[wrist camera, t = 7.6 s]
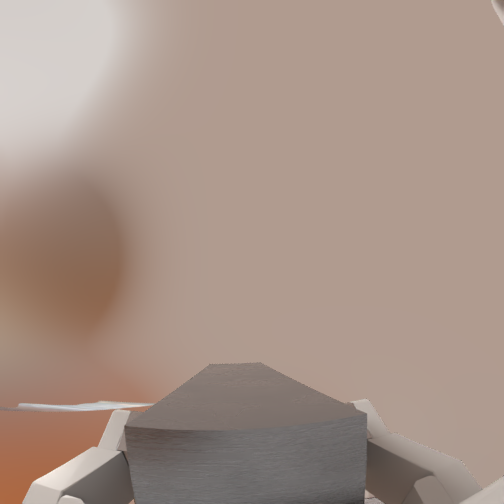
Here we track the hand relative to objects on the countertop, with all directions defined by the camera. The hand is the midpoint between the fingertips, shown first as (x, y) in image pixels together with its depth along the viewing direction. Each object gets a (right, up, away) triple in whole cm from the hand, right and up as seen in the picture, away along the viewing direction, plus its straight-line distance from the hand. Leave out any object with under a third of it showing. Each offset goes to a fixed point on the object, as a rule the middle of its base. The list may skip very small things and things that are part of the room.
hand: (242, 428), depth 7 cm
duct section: (0, -4, +5) cm, 7 cm away
